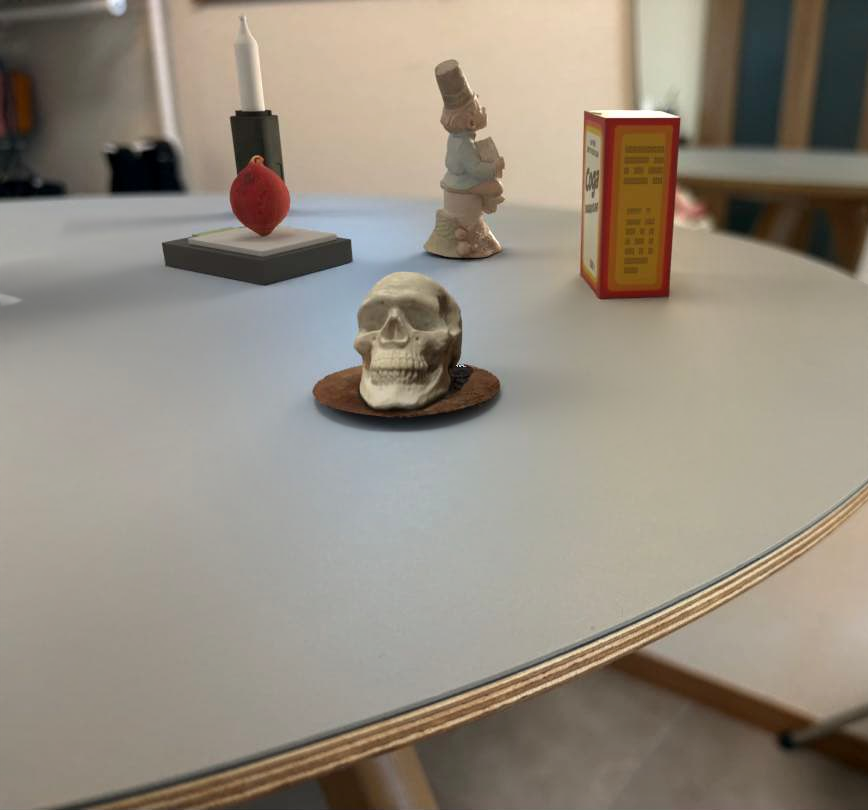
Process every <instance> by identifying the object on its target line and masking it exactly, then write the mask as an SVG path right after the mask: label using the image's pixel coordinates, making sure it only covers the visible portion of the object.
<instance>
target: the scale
mask: <svg viewBox="0 0 868 810" xmlns="http://www.w3.org/2000/svg"><path fill="white" fill-rule="evenodd" d="M161 246H162V252H163V259H164V265H165V266H167V267H172V268H176V269H183V270H188V271H192V272H197V273H202V274H207V275H212V276H217V277H222V278H226V279H230V280H231V279H232V280H236V281H242V282H247V283H251V284H257V285H262V286H267V285H271V284H274V283H278V282H282V281H286V280H289V279H293V278H297V277H300V276H305V275H309V274H312V273H315V272H319V271H323V270H326V269H330V268H334V267H338V266H341V265H345V264H348V263H353V260H354V258H353V246H352V239H351V238H345V237H339V236H338V234H337V233H332V232H326V231H319V230H313V229H312V230H311V229H306V228H305V229H304V228H297V227H292V226H286V225H285V226H284V225H280V224H279V225H278V226H277V227H276V228H275V229H274V230H273V231H272V233H271V234H270V235H268V236H261V235H259V234H257V233H255V232H254V231H252V230H250V229H249V228H247V227H246V226H244V225H243V226H239V227H233V226H227V227H223V228H218V229H213V230H208V231H207V230H206V231H202V232H197V233H192V234H191V236H189V237H183V238H178V239H173V240H168V241H163V242H161Z"/></svg>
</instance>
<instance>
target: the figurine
mask: <svg viewBox="0 0 868 810" xmlns="http://www.w3.org/2000/svg"><path fill="white" fill-rule="evenodd" d="M434 76H435V80H436V83H437V88H438V89H439V93H440V95H441V98H442V102H443V107H442V111H441V112H442V113H441V117H440V120H439V122H440V124H441V125H442V126H443V128H444V130H445V131H446V132H447V133H448V134H449V135H448V136H447V140H446V153H445V157H444V165H445V168H446V169H447V171H446V172H445V174H444V176H443V178H442V179H441V180H440V182H439V185H440V188H441V189H442V190H443V208H442V209H437V210H436V212H435V224H434V229H433V231H432V232H431V233H430V236H429V237H428V239H427V240H426V242H425V243H424V244H423V245H422V248H423V250H425V251H426V252H428V253H431V254H434V255H438V256H443V257H448V258H457V259H458V258H459V259H461V258H466V259H470V258H471V259H478V258H488V257H489V256H491V255H494V254H497V253H499V252H501V251H502V247H501V244H500V243H499V241H498V240H497V239H496V238H495V236H494V234H493V233H492V231H491V229H490V228H489V225H488V224H487V223H486V222H485V219H484V218H483V216H484V213H485V214H487V215H492V214H495V213H496V212H497V209H498V205H500V204H503V203H504V202H505V200H506V198H505V195H503V193H504V185H503V184H502V183H501V181H500V180H501V179H502V178H503V170H506V169H507V168H506V167H507V164H506V160H505V157H504V156H500V153H499V150H498V148H497V147H498V146H497V145H496V143H495V140H494V138H493V137H492V136H488V137H485V138H484V139H480V140H477V141H475V140H476V137H477V131H479V130H483V129H485V128H487V126H488V121H489V115H488V113H487V112H486V111H487V107H486V106H481V105H480V101H479V98H480V96H479V94H476V92H475V91H473V90H472V88H471V86H470V85H469V82H468V80H467V78H466V76H465V74H464V72H463V69H462V67H461V65H460V63H459V62H458V60H456V59H454V58H453V59H447V60H444V61H442V62H440V63H438V64H437V65H436V66H435V68H434Z"/></svg>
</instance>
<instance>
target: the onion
mask: <svg viewBox="0 0 868 810" xmlns="http://www.w3.org/2000/svg"><path fill="white" fill-rule="evenodd" d="M263 161H264V159H263V158H262V157H260V156H259V155H258V156H254V157H253V158H252V159H251V160H250V162H249V164H248V165H247V167H246V168H244V169H243V170H242V171H241V172H240V173H239V174H238V176H237V175H236V177H235V178H234V180H233V181H232V183H231V186H230V189H229V204H230V208H231V211H232V213H233V215H234V216H235V218H236V219H237V220H238V222H240V224H242V225H243V227H244V226H246V227H247V228H249V229H250V230H252V231H254V232H255V233H257V234H259V235H261V236H268V235H270V234H271V233H272V231H273V230H274V229H275V228H276V227H277V226H278V225H279V226H280V224H281V223H282V222H283V221H284V220H285V218H286V217H287V216H288V214H289V211H290V209H291V195H290V191H289V189H288V187H287V184H286V182H285V183H284V182H283V180H282V179H281V178H280V177H279V176H278V175H277V174H276V173H275V172H273V171H272V170H271V169H269V168H267V167H266V166H264V164H263Z"/></svg>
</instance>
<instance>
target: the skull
mask: <svg viewBox="0 0 868 810" xmlns="http://www.w3.org/2000/svg"><path fill="white" fill-rule="evenodd" d="M461 313H462V310H461V307H460V306H459V304H458V303H457V301H456V299H455V298H454V296H452V295H451V294H450V293H449V292H448V291H447V289H445V288H444V286H442V285H441V284H440V283H439V282H437V280H435V279H433V278H431V277H429V276H427V275H425V274H422V273H419V272H412V271H395V272H392V273H389V274H387V275H385V276H384V277H382V278H381V279H380V280H378V281H377V282H376V283H375V284H373V286H372V287H371V289H370V290H369V292H368V293H367V295H366V297H365V298H364V300H363V302H361V304H360V306H359V308H358V310H357V315H356V318H357V326H358V332H357V335H356V336H355V339H354V343H353V349H354V350H355V351H356V352H357V353H358V354H359V356H361V359H362V360H361V361H362V365H361V364H360V365H357V366H351V367H348V368H345V369H341V370H339V371H335V372H333V373H330V374H327V375H325V376H324V377H323V378H321V379H320V380H318V381H317V382H316V383H315V385H313V388H312V394H313V397H314V398H315V400H316V401H318V402H319V403H321V404H323V405H326V406H327V408H328V409H330V408H334V409H336V410H338V411H345V412H349V413H354V414H358V415H359V414H361V415H369V416H375V417H386V418H391V419H392V418H394V417H398V418H414V417H418V416H420V417H421V416H426V415H427V416H429V415H436V414H440V413H450V412H452V411H453V412H455V411H457V412H459V410H460V411H461V410H463V409H466V408H470V407H471V408H477V406H478V407H481V406H482V403H483V402H489V401H490V400H489V399H494V397H495V395H496V394H498V392H499V391H500V389H501V382H500V379H499V378H498V377H497V375H495V374H493V373H492V372H491V371H489V370H486V369H485V368H480V367H479V366H478V367H477V366H475V365H471V364H466V363H464V364H463V365H464V366H466V367H463V366H461V367H459V365H461V364H460V363H459V361H460V360H461V356H462V346H463V320H462V319H463V318H462V314H461ZM457 364H459V365H458V367H457V366H456V365H457ZM476 405H477V406H476Z"/></svg>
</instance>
